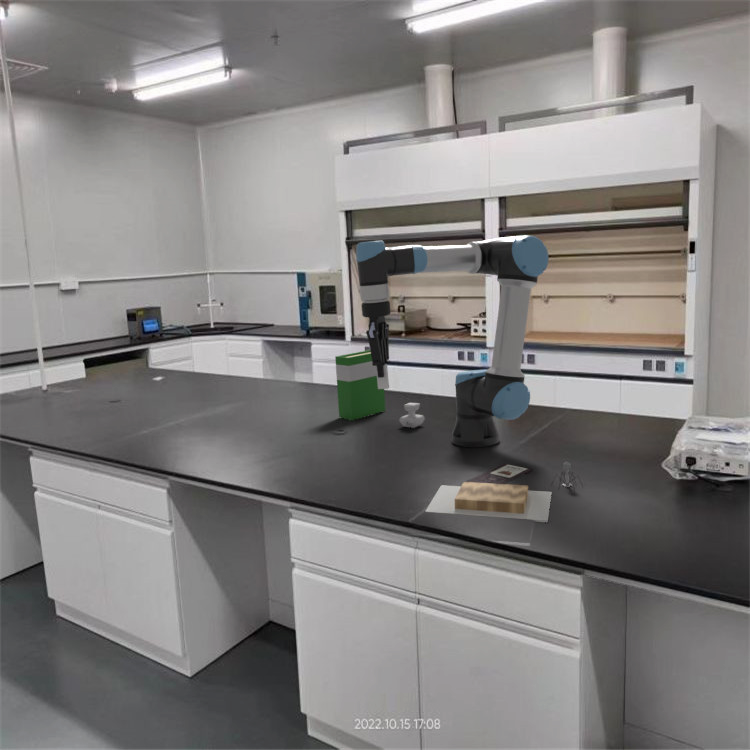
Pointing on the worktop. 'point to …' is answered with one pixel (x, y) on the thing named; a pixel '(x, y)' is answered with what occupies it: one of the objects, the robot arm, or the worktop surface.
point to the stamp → (412, 416)
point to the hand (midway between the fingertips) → (383, 388)
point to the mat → (534, 510)
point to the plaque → (492, 497)
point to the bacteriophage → (567, 475)
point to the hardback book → (358, 386)
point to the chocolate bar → (501, 474)
